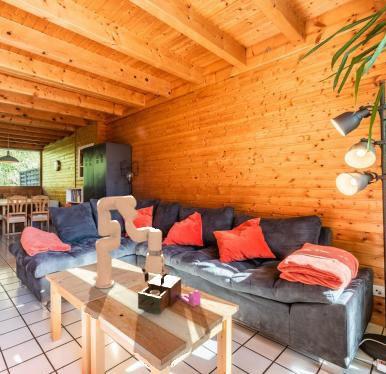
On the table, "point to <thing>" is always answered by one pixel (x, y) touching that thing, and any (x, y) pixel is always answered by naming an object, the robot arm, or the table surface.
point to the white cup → (155, 293)
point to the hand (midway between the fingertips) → (154, 282)
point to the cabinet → (169, 286)
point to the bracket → (191, 298)
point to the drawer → (153, 299)
